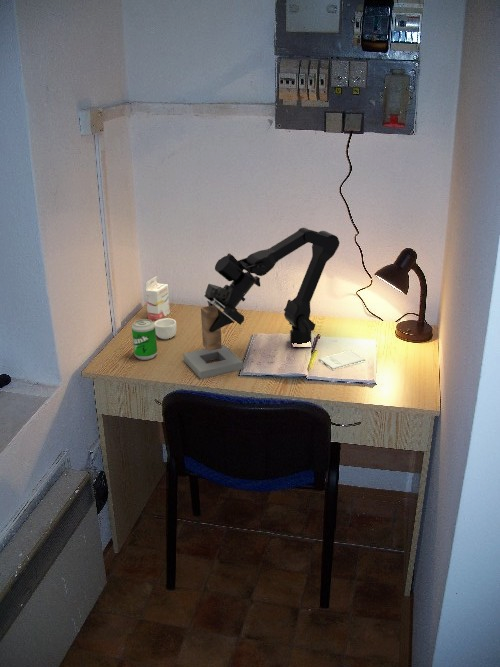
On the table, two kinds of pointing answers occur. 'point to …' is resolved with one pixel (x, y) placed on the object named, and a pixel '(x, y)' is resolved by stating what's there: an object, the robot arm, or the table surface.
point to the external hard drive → (341, 359)
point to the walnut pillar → (209, 338)
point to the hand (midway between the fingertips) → (207, 328)
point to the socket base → (205, 370)
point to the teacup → (165, 328)
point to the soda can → (144, 339)
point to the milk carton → (157, 299)
